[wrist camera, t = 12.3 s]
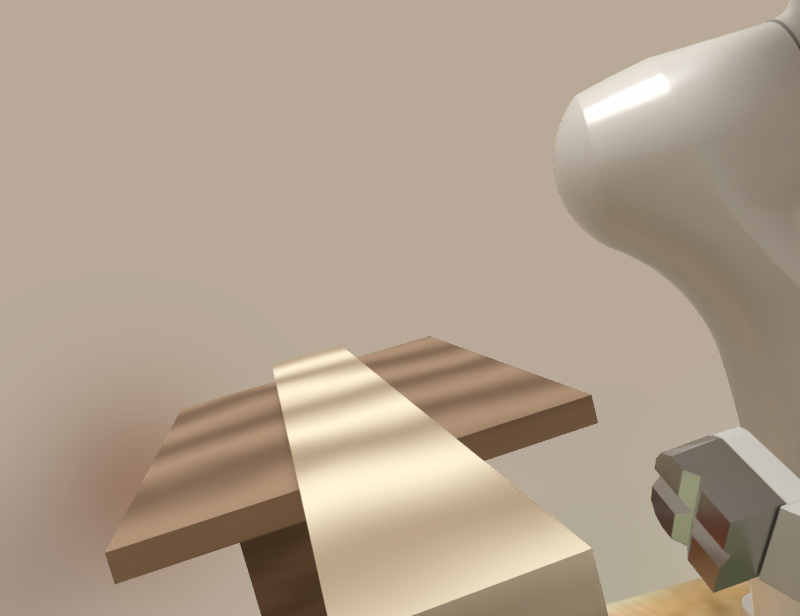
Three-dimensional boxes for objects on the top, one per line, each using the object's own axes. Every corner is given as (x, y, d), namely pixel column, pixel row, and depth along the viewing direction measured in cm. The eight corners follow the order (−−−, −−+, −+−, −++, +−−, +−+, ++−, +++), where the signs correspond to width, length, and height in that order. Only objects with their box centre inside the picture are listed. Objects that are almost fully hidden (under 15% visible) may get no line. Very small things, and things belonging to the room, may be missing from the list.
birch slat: (615, 646, 10) (591, 548, 10) (363, 748, 10) (333, 644, 10) (347, 371, 40) (340, 344, 40) (279, 391, 39) (271, 364, 39)
